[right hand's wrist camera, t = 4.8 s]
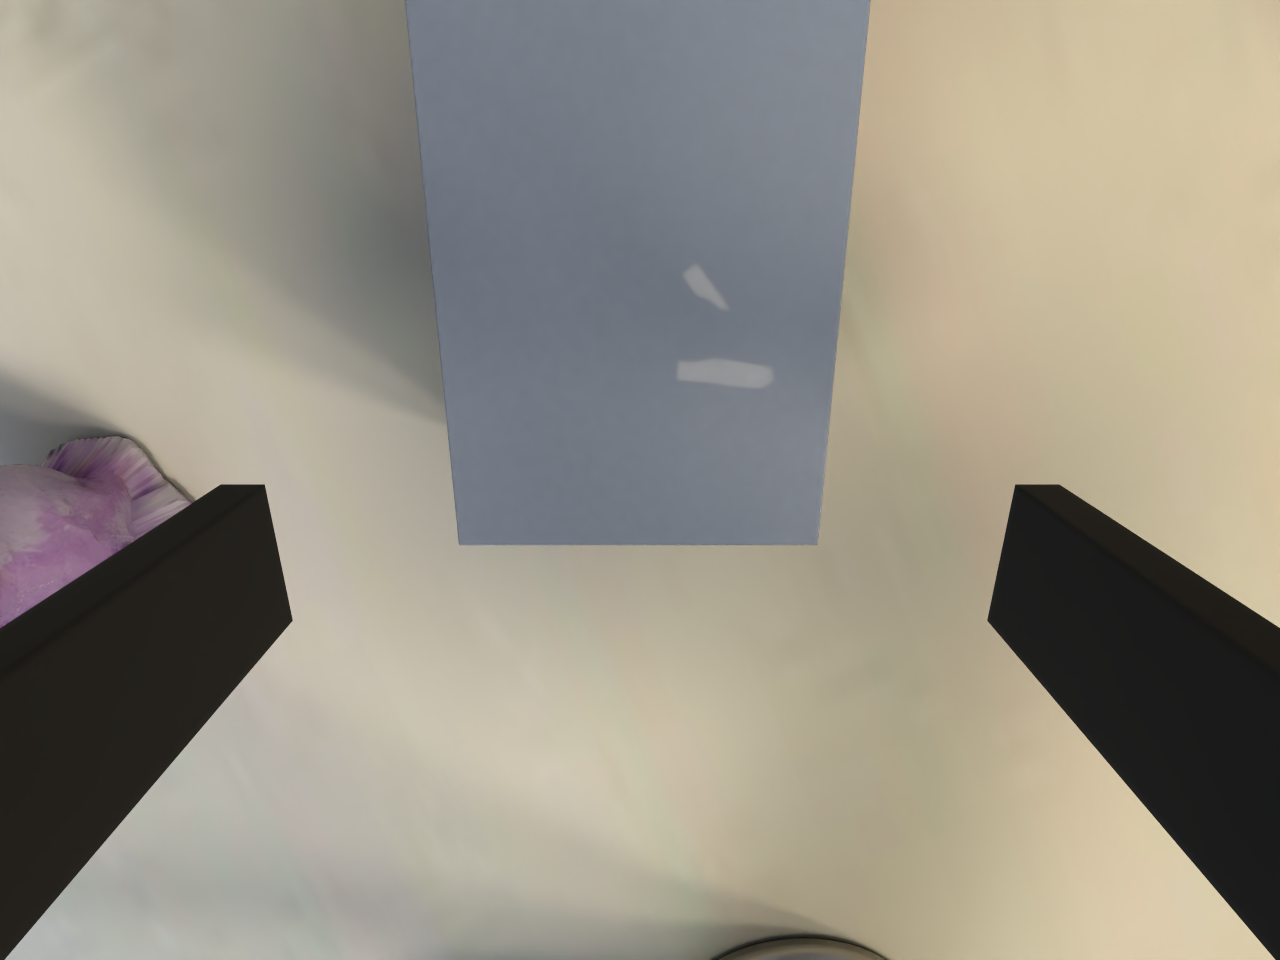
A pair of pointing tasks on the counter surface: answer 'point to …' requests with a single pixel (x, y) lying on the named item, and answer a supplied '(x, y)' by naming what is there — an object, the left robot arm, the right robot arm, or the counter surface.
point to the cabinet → (638, 260)
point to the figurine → (74, 515)
